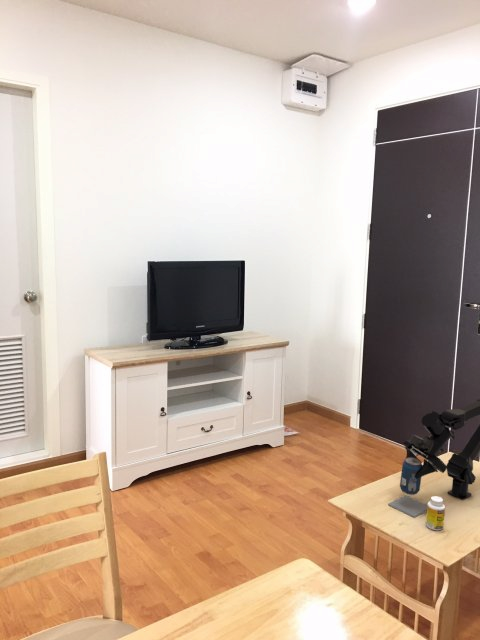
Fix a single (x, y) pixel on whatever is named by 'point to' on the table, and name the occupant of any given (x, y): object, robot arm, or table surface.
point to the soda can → (410, 476)
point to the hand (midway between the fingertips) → (409, 473)
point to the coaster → (409, 506)
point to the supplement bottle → (435, 513)
